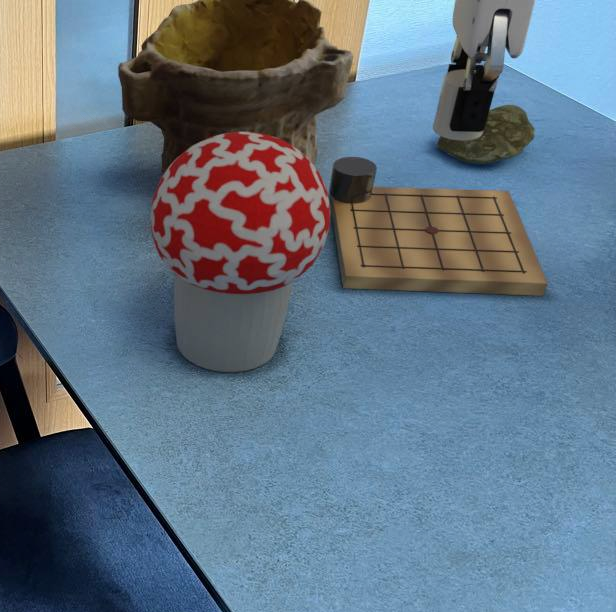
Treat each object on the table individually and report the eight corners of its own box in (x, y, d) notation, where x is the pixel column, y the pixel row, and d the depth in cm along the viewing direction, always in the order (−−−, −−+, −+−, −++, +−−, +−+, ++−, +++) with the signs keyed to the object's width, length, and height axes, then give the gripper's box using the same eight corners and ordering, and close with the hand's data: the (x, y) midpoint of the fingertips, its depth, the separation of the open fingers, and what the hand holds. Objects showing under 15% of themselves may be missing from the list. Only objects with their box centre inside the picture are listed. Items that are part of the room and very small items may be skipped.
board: (505, 202, 119) (509, 189, 117) (543, 296, 104) (548, 282, 103) (328, 197, 120) (331, 184, 119) (343, 288, 106) (345, 274, 105)
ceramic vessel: (216, 217, 100) (143, -48, 96) (127, 267, 123) (66, 54, 119) (407, 165, 106) (346, -86, 103) (289, 222, 129) (235, 19, 126)
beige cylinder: (478, 120, 103) (491, 69, 100) (486, 141, 100) (501, 89, 96) (429, 119, 104) (440, 68, 100) (436, 140, 100) (448, 87, 97)
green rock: (425, 138, 127) (479, 66, 124) (432, 161, 133) (484, 92, 131) (495, 179, 123) (552, 105, 121) (499, 200, 130) (553, 131, 127)
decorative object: (117, 324, 102) (120, 123, 88) (251, 286, 107) (275, 90, 93) (196, 410, 92) (214, 200, 78) (341, 365, 97) (382, 158, 82)
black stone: (369, 184, 119) (374, 157, 117) (373, 203, 116) (379, 176, 113) (327, 182, 119) (331, 156, 117) (330, 202, 116) (334, 175, 114)
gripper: (584, -65, 82) (518, 157, 95) (537, -119, 94) (484, 85, 107) (488, -66, 82) (435, 155, 95) (453, -120, 94) (410, 83, 107)
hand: (461, 116), depth 101 cm, fingers closed on beige cylinder, 4 cm apart
